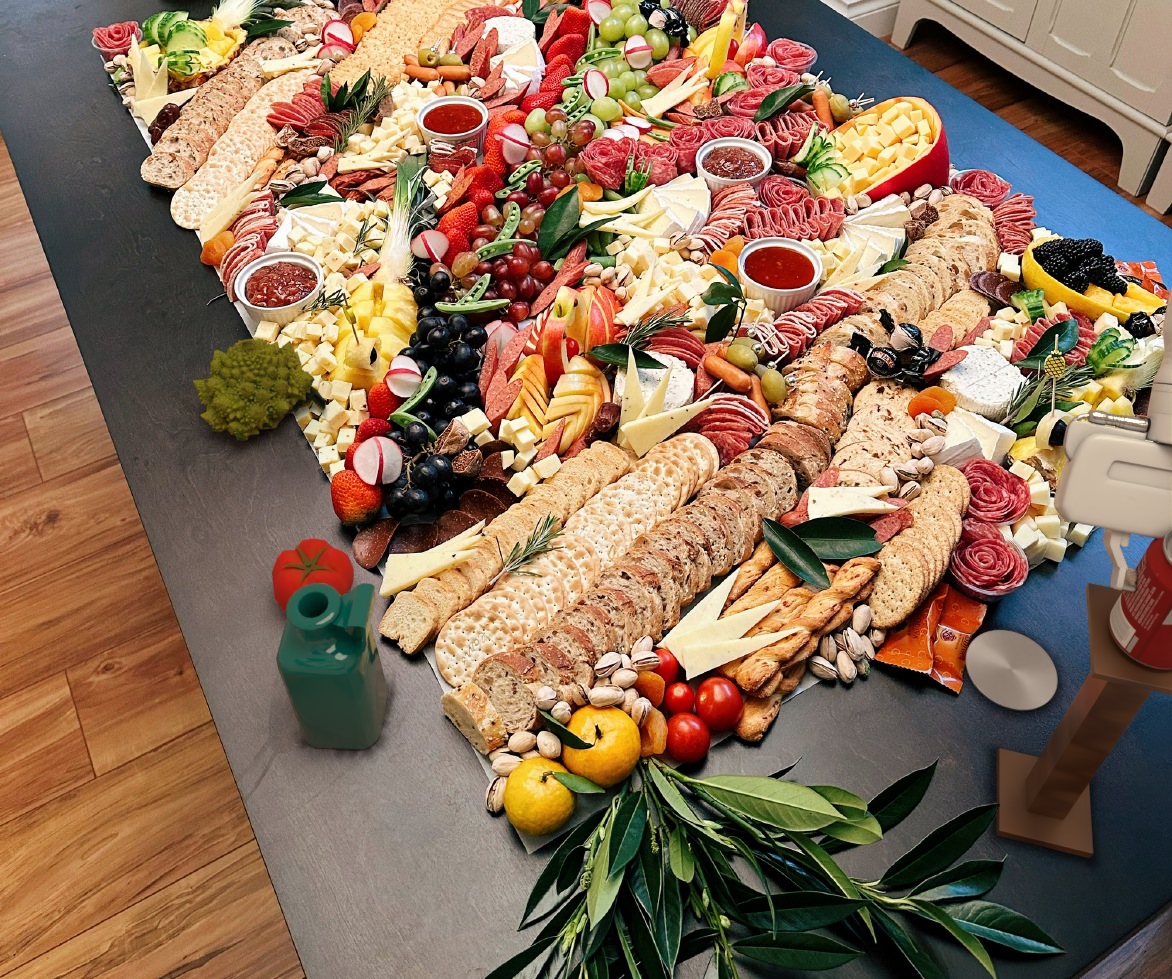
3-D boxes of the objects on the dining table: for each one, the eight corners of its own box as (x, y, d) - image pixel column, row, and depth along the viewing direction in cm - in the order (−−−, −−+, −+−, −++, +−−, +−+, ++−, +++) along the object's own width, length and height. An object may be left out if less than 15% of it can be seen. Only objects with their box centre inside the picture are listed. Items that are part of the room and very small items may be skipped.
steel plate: (1055, 642, 129) (1056, 640, 129) (1058, 721, 122) (1059, 719, 122) (965, 623, 131) (966, 621, 131) (964, 699, 124) (964, 697, 124)
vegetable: (353, 379, 155) (276, 334, 143) (291, 476, 153) (208, 439, 142) (296, 342, 164) (220, 298, 153) (237, 433, 162) (155, 395, 151)
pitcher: (300, 749, 120) (257, 639, 105) (317, 677, 126) (279, 564, 111) (390, 752, 120) (361, 643, 105) (403, 681, 126) (377, 567, 111)
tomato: (283, 637, 130) (270, 602, 125) (276, 576, 136) (263, 539, 131) (363, 617, 132) (354, 581, 127) (353, 557, 138) (343, 520, 133)
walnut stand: (1084, 774, 118) (1198, 605, 96) (1089, 858, 112) (1212, 698, 89) (996, 753, 120) (1088, 582, 97) (996, 835, 113) (1094, 672, 91)
